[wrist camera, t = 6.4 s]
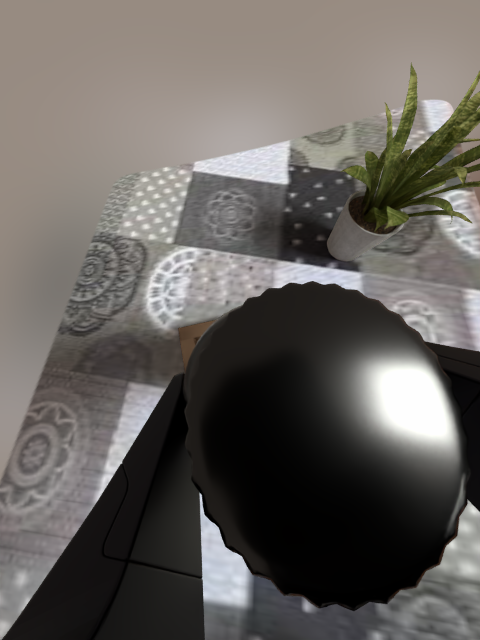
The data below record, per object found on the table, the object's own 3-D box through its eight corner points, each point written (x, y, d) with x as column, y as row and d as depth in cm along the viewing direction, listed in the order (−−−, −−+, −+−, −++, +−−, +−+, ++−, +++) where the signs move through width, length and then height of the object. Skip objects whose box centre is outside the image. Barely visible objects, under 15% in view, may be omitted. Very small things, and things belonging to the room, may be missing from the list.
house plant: (385, 310, 24) (687, 199, 8) (290, 280, 24) (398, 121, 9) (393, 231, 28) (606, 52, 12) (311, 207, 28) (410, 5, 12)
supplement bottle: (193, 372, 14) (21, 388, 3) (252, 320, 16) (308, 183, 4) (249, 442, 13) (388, 1042, 1) (308, 378, 14) (609, 415, 3)
